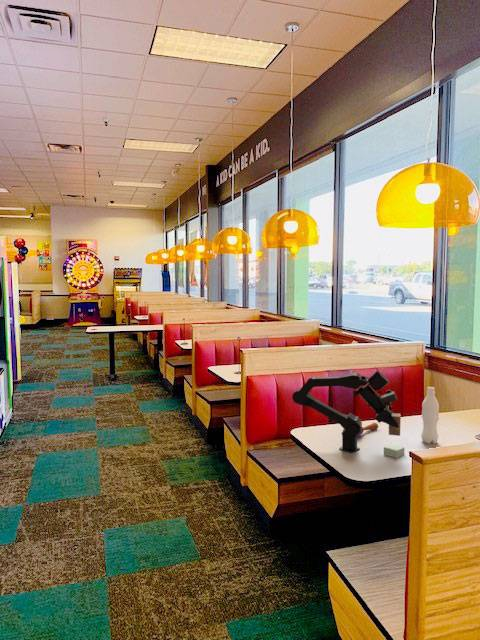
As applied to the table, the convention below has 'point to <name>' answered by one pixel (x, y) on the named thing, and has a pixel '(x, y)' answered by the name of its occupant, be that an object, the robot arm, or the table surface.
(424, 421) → the water bottle
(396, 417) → the walnut pillar
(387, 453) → the block
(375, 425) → the kendama
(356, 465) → the table surface
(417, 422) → the table surface
